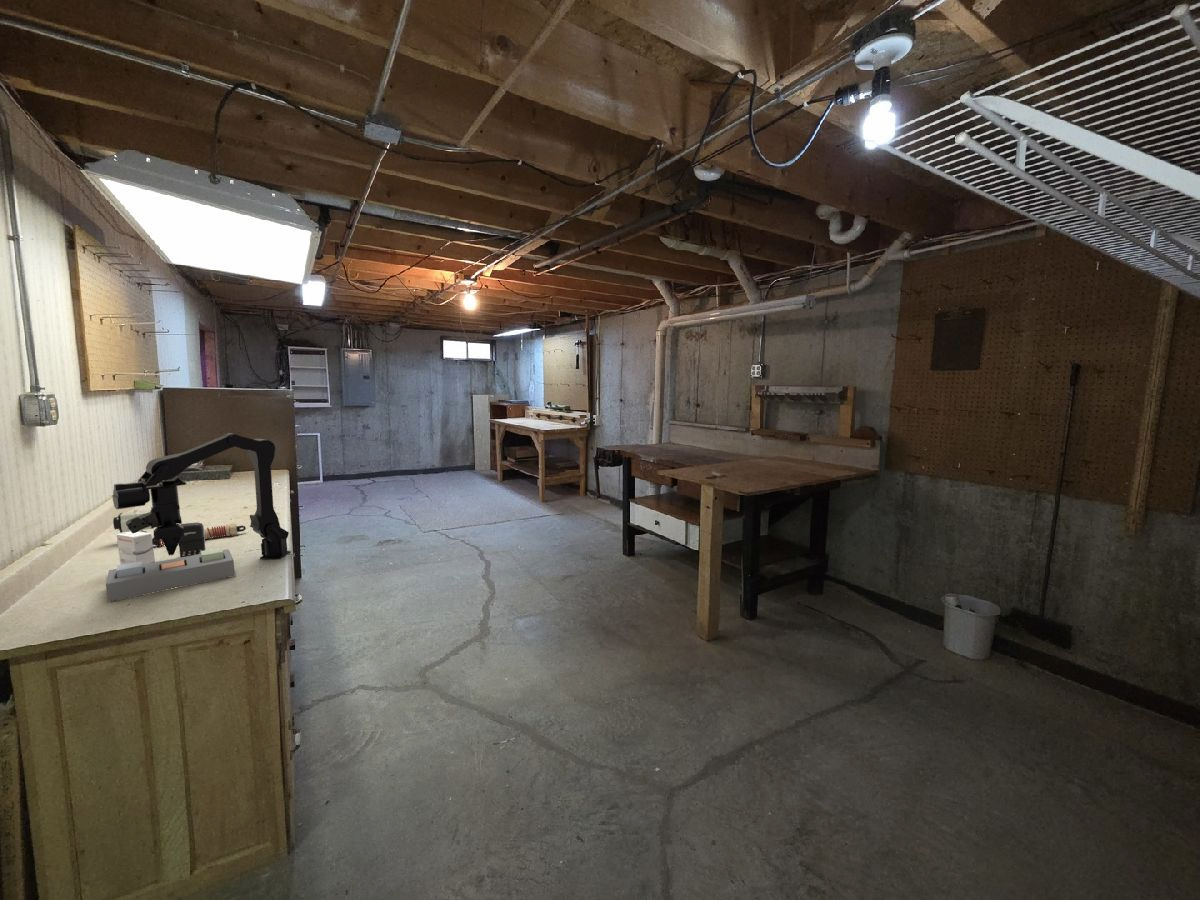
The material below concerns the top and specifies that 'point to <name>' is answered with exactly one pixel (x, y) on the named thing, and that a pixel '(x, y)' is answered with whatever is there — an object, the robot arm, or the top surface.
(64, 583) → the top surface
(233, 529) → the shock absorber
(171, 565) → the terracotta button
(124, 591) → the button panel
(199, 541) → the battery charger
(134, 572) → the slate button
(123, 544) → the ink box
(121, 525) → the pneumatic valve
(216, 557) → the sage button
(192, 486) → the top surface
